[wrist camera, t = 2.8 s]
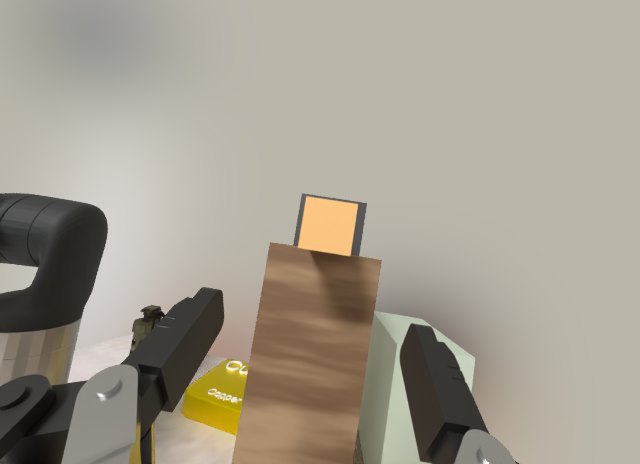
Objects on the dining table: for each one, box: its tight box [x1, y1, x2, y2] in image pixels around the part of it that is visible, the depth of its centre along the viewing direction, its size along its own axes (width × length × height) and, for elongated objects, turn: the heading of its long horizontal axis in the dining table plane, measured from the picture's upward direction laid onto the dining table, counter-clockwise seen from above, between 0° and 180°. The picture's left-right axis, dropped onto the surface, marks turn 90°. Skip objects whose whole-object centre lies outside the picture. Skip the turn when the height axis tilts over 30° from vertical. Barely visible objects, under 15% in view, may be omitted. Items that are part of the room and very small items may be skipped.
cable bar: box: [298, 196, 358, 256], centre depth 28 cm, size 24×4×4 cm, turn 178°
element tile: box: [181, 359, 249, 436], centre depth 49 cm, size 15×15×5 cm
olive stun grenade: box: [129, 305, 165, 355], centre depth 51 cm, size 6×7×15 cm
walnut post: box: [232, 243, 381, 464], centre depth 31 cm, size 12×12×32 cm
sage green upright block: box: [358, 311, 475, 464], centre depth 40 cm, size 18×10×22 cm, turn 178°
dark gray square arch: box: [293, 194, 367, 256], centre depth 36 cm, size 2×10×8 cm, turn 88°
